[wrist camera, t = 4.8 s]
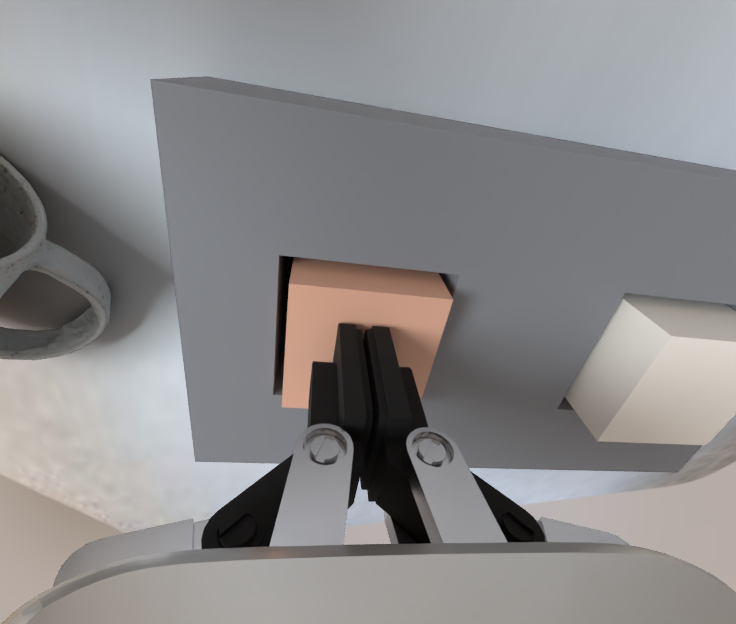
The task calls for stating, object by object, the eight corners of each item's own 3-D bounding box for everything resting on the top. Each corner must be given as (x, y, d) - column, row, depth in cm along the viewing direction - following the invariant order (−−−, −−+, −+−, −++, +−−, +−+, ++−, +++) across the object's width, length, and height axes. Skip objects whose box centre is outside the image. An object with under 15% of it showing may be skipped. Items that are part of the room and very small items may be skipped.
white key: (685, 281, 17) (797, 347, 13) (627, 367, 19) (706, 445, 15) (585, 269, 16) (671, 336, 12) (538, 361, 19) (597, 441, 15)
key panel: (772, 177, 17) (918, 212, 13) (616, 402, 24) (677, 472, 20) (207, 76, 13) (150, 79, 9) (222, 380, 20) (195, 461, 16)
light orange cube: (421, 241, 16) (453, 300, 12) (397, 338, 18) (416, 413, 14) (299, 226, 15) (288, 283, 11) (292, 329, 18) (281, 407, 14)
